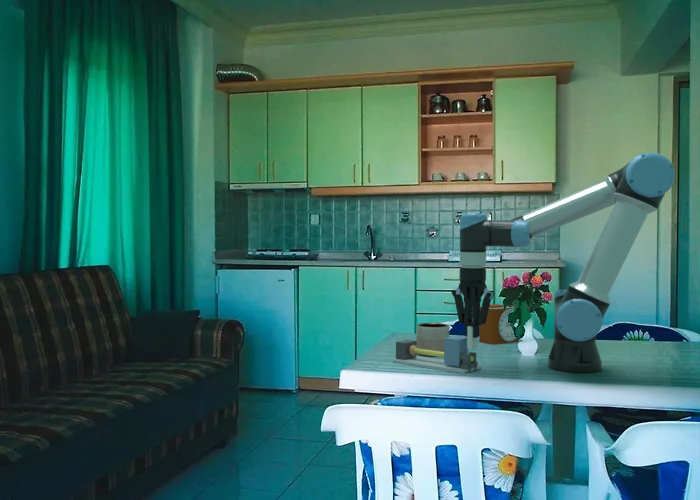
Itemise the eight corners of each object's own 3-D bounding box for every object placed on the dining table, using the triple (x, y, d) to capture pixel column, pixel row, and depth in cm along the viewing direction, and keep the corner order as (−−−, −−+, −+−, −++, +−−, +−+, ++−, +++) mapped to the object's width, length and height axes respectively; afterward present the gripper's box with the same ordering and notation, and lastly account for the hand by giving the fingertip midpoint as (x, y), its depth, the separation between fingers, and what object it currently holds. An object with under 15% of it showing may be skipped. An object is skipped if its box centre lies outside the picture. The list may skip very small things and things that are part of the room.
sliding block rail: (481, 368, 194) (481, 347, 194) (463, 373, 186) (463, 352, 186) (410, 357, 210) (410, 338, 210) (391, 362, 203) (392, 342, 202)
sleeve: (467, 364, 194) (468, 337, 194) (459, 366, 190) (459, 339, 190) (453, 361, 197) (453, 336, 197) (444, 364, 193) (444, 338, 193)
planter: (448, 357, 210) (448, 327, 210) (414, 356, 212) (414, 326, 212) (450, 351, 221) (450, 323, 221) (417, 350, 223) (418, 322, 223)
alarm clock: (493, 345, 234) (494, 307, 234) (476, 341, 241) (477, 304, 241) (522, 341, 242) (523, 304, 242) (505, 338, 249) (505, 302, 249)
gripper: (499, 267, 188) (498, 349, 189) (459, 265, 196) (458, 344, 197) (486, 268, 182) (485, 353, 183) (446, 266, 191) (445, 347, 191)
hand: (471, 348), depth 190 cm, fingers closed
